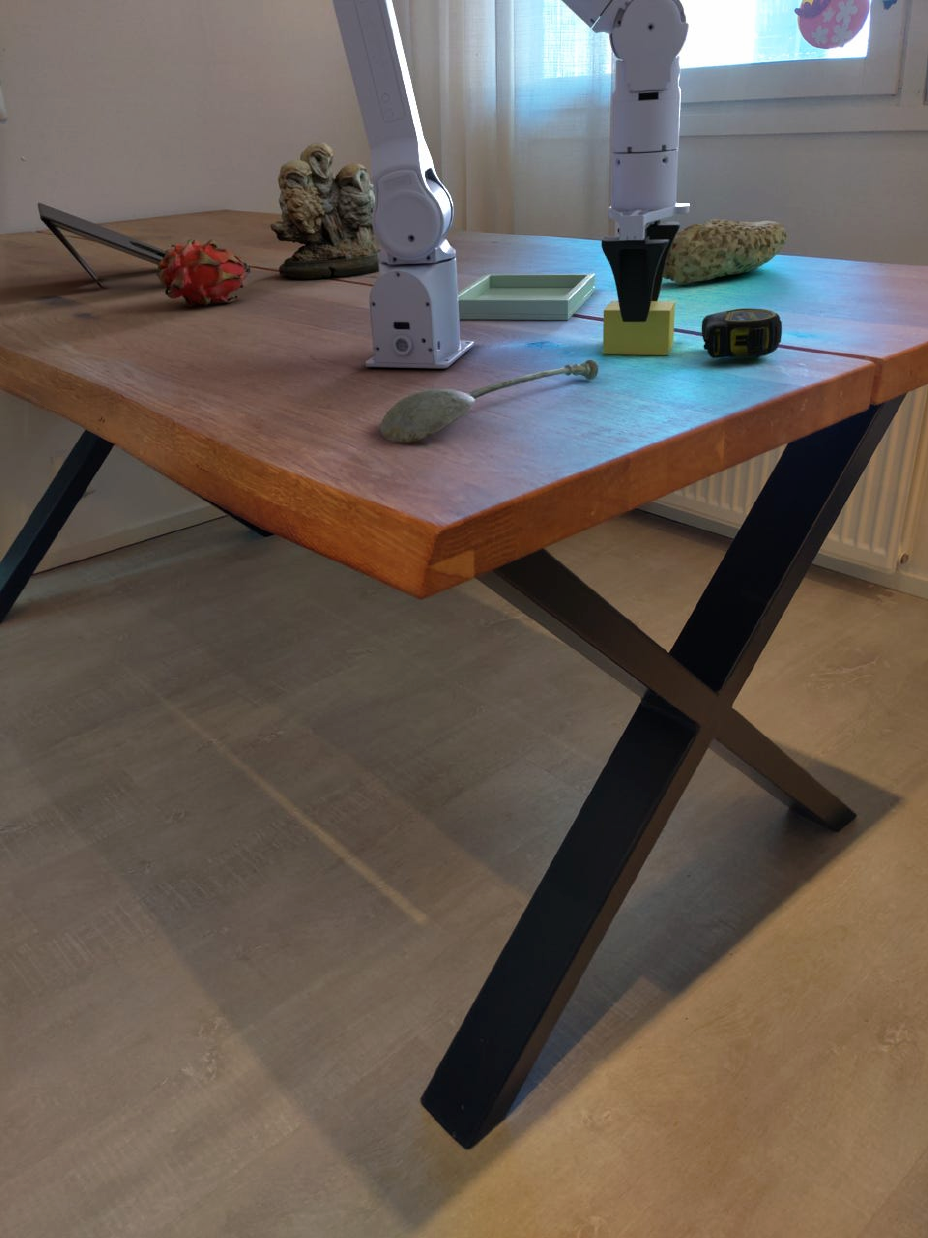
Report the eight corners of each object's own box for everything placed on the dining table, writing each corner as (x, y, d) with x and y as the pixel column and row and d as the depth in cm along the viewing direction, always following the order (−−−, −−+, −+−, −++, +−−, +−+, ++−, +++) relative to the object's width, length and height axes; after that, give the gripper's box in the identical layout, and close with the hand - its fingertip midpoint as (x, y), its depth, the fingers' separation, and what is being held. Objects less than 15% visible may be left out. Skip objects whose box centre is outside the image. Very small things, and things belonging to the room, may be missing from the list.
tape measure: (699, 348, 94) (701, 307, 92) (775, 347, 93) (779, 305, 91) (701, 366, 88) (704, 322, 86) (783, 365, 87) (787, 321, 85)
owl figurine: (296, 284, 137) (279, 146, 130) (260, 275, 146) (242, 146, 138) (408, 267, 146) (398, 137, 138) (367, 259, 155) (356, 136, 147)
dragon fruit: (156, 322, 126) (249, 323, 132) (168, 288, 119) (266, 290, 124) (145, 260, 128) (238, 264, 133) (156, 222, 120) (254, 227, 126)
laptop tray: (198, 328, 143) (218, 265, 141) (27, 268, 132) (44, 198, 130) (177, 303, 162) (194, 247, 160) (26, 249, 151) (41, 187, 149)
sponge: (693, 301, 119) (827, 247, 124) (678, 234, 117) (816, 181, 121) (637, 305, 131) (761, 255, 136) (622, 244, 129) (749, 196, 133)
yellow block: (668, 355, 92) (670, 310, 90) (602, 354, 94) (603, 310, 92) (673, 344, 96) (675, 300, 94) (610, 343, 97) (611, 300, 96)
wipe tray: (568, 320, 108) (568, 299, 107) (447, 319, 112) (446, 299, 111) (594, 291, 122) (594, 273, 121) (486, 291, 126) (485, 273, 125)
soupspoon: (363, 440, 76) (417, 463, 72) (358, 397, 74) (414, 417, 70) (565, 370, 88) (622, 386, 84) (565, 332, 86) (624, 346, 82)
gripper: (683, 154, 80) (676, 329, 86) (698, 143, 92) (691, 297, 98) (595, 158, 82) (594, 329, 88) (621, 146, 94) (619, 297, 100)
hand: (640, 312), depth 93 cm, fingers open, 7 cm apart
